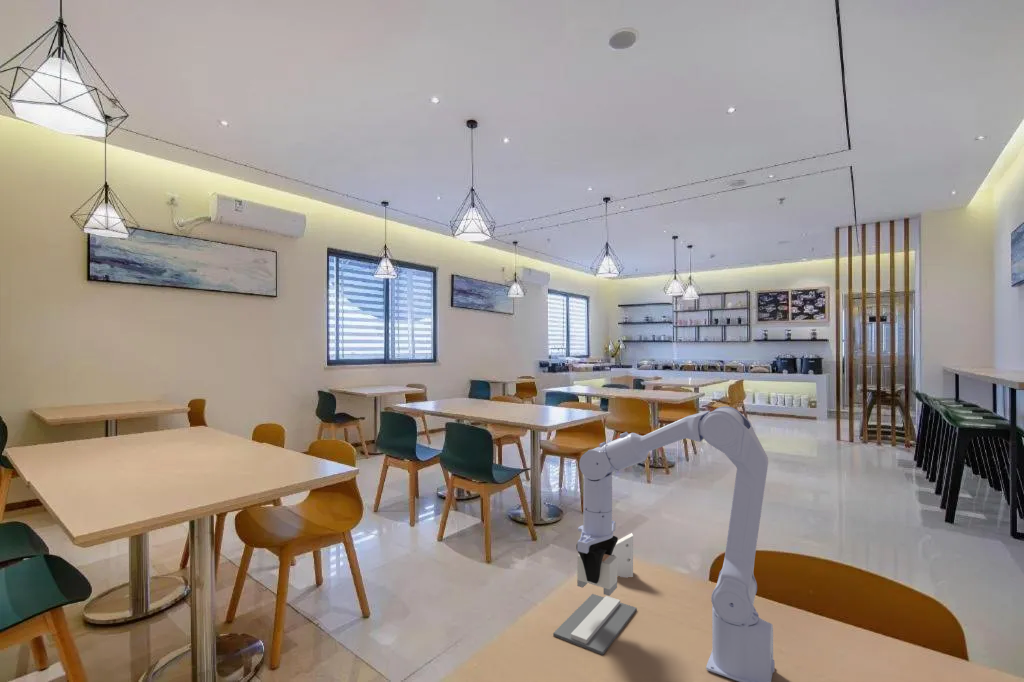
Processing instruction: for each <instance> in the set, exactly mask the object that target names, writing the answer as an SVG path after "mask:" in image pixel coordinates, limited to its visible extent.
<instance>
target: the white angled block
mask: <svg viewBox="0 0 1024 682" xmlns="http://www.w3.org/2000/svg"><path fill="white" fill-rule="evenodd" d="M611 556H615V557H617V576H620V577H619V578H628V577H633V578H634V534H633V533H632V532H631V533H629V534H627V535H624V536H623V537H621V538H620V539H618V541H617V543H616V545H615V547H614V549H613V552H612V555H611Z"/></svg>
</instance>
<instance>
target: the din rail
mask: <svg viewBox="0 0 1024 682" xmlns="http://www.w3.org/2000/svg"><path fill="white" fill-rule="evenodd" d="M637 609H638V608H637V607H635V606H633V605H629V604H626V603H624V602H621V600H620V599H618V598H614V597H611V596H608V595H605V596H604V597H603V596H601V595H598V594H594V593H592V594H590V596H588V597H587V599H586V600H584V602H583V603H582V604H580V606H578V608H577V609H576V610H574V612H573V613H572V614H570V616H568V617H567V619H565V620H564V622H563V623H562V624H561V625H560V626H559V627H558V628H557V629H555V631H554V632H553V633H552V634H553V637H556V638H559V639H560V640H563V641H567V642H568V643H571V644H574V645H576V646H579V647H581V648H584V649H586V650H589V651H592V652H594V653H597V654H600V655H603V656H604V654H605V653H606V651H608V649H609V647H611V644H613V642H614V641H615V639H617V637H618V636H619V635H620V633H621V632H622V631H623V629H624V628H625V626H626V625H627V623H628V622H629V621H630V619H631V618H632V617H633V615H634V614H635V613H636V612H637Z"/></svg>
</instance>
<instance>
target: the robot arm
mask: <svg viewBox="0 0 1024 682" xmlns="http://www.w3.org/2000/svg"><path fill="white" fill-rule="evenodd" d="M684 439H688V440H691V441H695V442H698V443H699V442H700V443H701V442H702V441H703V440H704V441H705V442H706V443H707V444H709V445H710V446H712V447H713V448H715V449H716V450H718V451H719V452H722V453H723V454H724V455H725V456H726V457H727V458H728V460H730V462H731V463H732V464H733V465H734V466H735V467H736V475H735V482H734V489H733V497H732V502H731V509H730V518H729V524H728V531H727V538H726V544H725V545H726V546H725V553H724V558H723V559H724V560H723V564H722V568H721V570H720V571H719V574H718V578H717V582H716V585H715V587H714V589H713V591H712V593H711V597H710V598H711V600H710V601H711V605H712V607H711V608H712V610H711V611H712V616H711V623H712V625H711V626H712V627H711V630H712V631H711V633H712V634H711V635H712V639H711V640H712V642H711V643H712V646H711V647H712V649H711V652H710V656H709V658H708V660H707V663H706V666H705V669H706V670H707V671H708V672H711V673H714V674H717V675H720V676H722V677H726V678H727V679H730V680H733V681H736V682H772V680H773V673H775V668H776V667H775V664H776V663H775V659H774V625H773V624H772V623H771V622H770V621H769V622H768V621H767V620H765V619H763V618H761V617H760V616H759V612H757V609H756V607H755V606H754V605H755V598H756V595H757V592H758V583H757V580H756V577H755V575H754V568H755V558H756V552H757V544H758V537H759V529H760V523H761V517H762V509H763V504H764V503H763V502H764V496H765V495H764V494H765V488H766V482H767V475H768V467H769V457H768V455H767V453H766V451H765V449H764V447H763V445H762V444H761V441H760V439H759V438H758V436H757V434H756V432H755V430H754V427H753V425H752V422H751V421H750V420H749V419H747V417H746V416H745V415H744V414H742V412H740V411H739V410H738V409H736V408H734V407H732V406H726V405H724V406H719V407H717V408H715V409H714V410H712V411H711V410H706V411H705V410H704V411H702V412H698V413H694V414H690V415H687V416H685V417H683V418H681V419H678V420H676V421H674V422H673V421H672V422H671V423H669V424H667V425H664V426H663V427H660V428H657V429H655V430H653V431H651V432H648V433H646V434H644V435H641V434H638V433H635V432H631V433H628V431H625V432H623V433H620V434H619V437H618V438H616V439H614V440H612V441H609V442H606V441H603V442H601V443H599V446H597V447H595V448H592V449H588V450H587V451H586V452H584V453H582V455H581V457H580V459H579V463H578V465H579V470H580V471H581V474H582V475H583V509H582V510H583V513H582V514H583V516H582V518H583V519H582V520H583V522H582V523H583V524H582V525H580V526H578V528H577V531H578V532H580V537H579V539H578V540H577V542H576V551H577V553H578V555H580V557H581V559H582V562H583V565H584V569H585V573H586V578H587V581H589V582H593V583H596V584H597V583H598V581H599V576H600V568H601V563H602V559H603V556H604V554H607V555H612V552H613V549H614V547H615V545H616V543H617V541H618V540H619V538H618V537H617V536H616V535H614V532H615V531H616V529H617V528H616V524H617V523H616V521H615V520H613V472H620V471H622V470H624V469H627V468H630V467H632V466H635V465H637V464H640V463H642V462H645V461H646V460H647V458H648V455H649V453H650V452H651V451H654V450H657V449H659V448H662V447H666V446H668V445H671V444H674V443H676V442H680V441H681V440H682V441H683V440H684Z"/></svg>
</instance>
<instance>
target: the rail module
mask: <svg viewBox="0 0 1024 682" xmlns="http://www.w3.org/2000/svg"><path fill="white" fill-rule="evenodd" d="M576 574H577V580H576V581H577V583H576V584H577V585H576V586H577V587H580V588H584V587H586V585H587V584H589V585H593V586H596V587H600V588H602V589H603V595H605V596H608V597H611V595H612V594H613V593H614V591H615V590H616V589H618V577H617V557H615V556H611V555H607V554H604V556H603V559H602V563H601V568H600V576H599V581H598V583H597V584H596V583H593V582H589V581H587V578H586V573H585V569H584V565H583V562H582V559H581V557H580V555H579V554H578V555H577V573H576Z"/></svg>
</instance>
